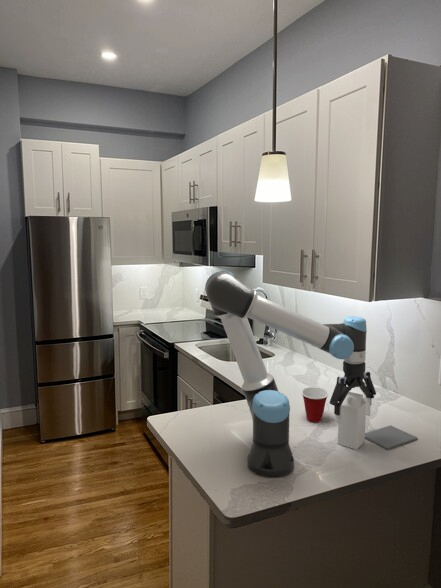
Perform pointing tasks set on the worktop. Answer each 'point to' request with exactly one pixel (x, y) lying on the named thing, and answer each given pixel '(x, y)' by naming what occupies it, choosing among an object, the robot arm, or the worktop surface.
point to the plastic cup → (314, 402)
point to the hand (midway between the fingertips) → (352, 419)
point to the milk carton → (352, 421)
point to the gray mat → (389, 437)
